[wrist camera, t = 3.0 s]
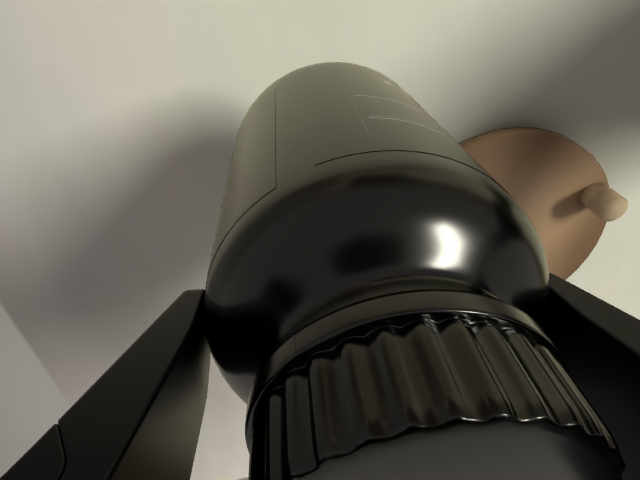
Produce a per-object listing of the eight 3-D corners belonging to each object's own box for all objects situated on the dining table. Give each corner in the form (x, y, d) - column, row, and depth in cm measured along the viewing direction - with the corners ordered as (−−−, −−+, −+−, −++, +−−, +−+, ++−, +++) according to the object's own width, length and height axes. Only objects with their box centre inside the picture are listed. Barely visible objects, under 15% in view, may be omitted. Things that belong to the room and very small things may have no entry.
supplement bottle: (353, 259, 18) (444, 636, 8) (204, 187, 15) (68, 600, 6) (464, 124, 15) (831, 461, 5) (300, 8, 12) (378, 216, 3)
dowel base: (634, 124, 21) (674, 143, 19) (557, 300, 28) (580, 329, 26) (401, 130, 20) (415, 150, 18) (380, 310, 27) (389, 340, 25)
